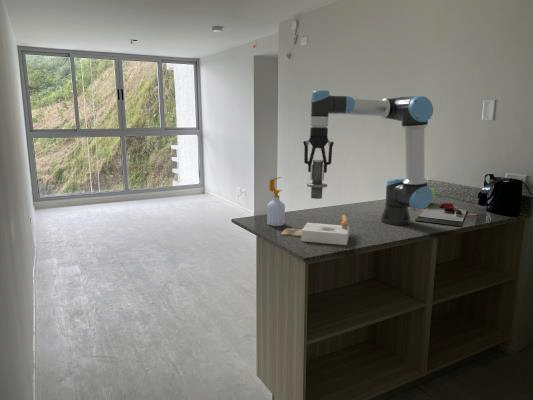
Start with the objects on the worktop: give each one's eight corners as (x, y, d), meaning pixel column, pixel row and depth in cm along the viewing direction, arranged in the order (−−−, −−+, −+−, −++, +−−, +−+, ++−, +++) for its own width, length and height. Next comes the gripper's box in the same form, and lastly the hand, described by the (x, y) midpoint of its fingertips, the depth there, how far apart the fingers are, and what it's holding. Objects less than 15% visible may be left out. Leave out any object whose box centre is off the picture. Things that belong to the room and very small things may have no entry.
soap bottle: (279, 227, 206) (279, 178, 201) (263, 224, 210) (264, 177, 205) (287, 223, 213) (288, 176, 208) (272, 221, 218) (273, 175, 213)
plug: (328, 197, 187) (330, 160, 185) (322, 200, 179) (324, 161, 177) (310, 195, 191) (311, 159, 188) (303, 198, 183) (305, 160, 180)
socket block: (348, 236, 192) (349, 223, 190) (346, 245, 178) (347, 231, 177) (306, 232, 197) (307, 219, 195) (301, 241, 183) (301, 227, 182)
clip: (347, 225, 184) (347, 223, 184) (341, 225, 185) (341, 222, 185) (346, 217, 199) (346, 215, 199) (341, 217, 200) (341, 214, 199)
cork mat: (305, 230, 200) (305, 229, 200) (302, 236, 190) (302, 235, 190) (285, 229, 202) (285, 228, 202) (281, 234, 193) (281, 233, 193)
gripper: (339, 127, 181) (337, 179, 185) (300, 126, 185) (299, 177, 189) (338, 127, 174) (336, 181, 178) (298, 126, 178) (296, 179, 182)
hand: (317, 179), depth 184 cm, fingers closed on plug, 4 cm apart
